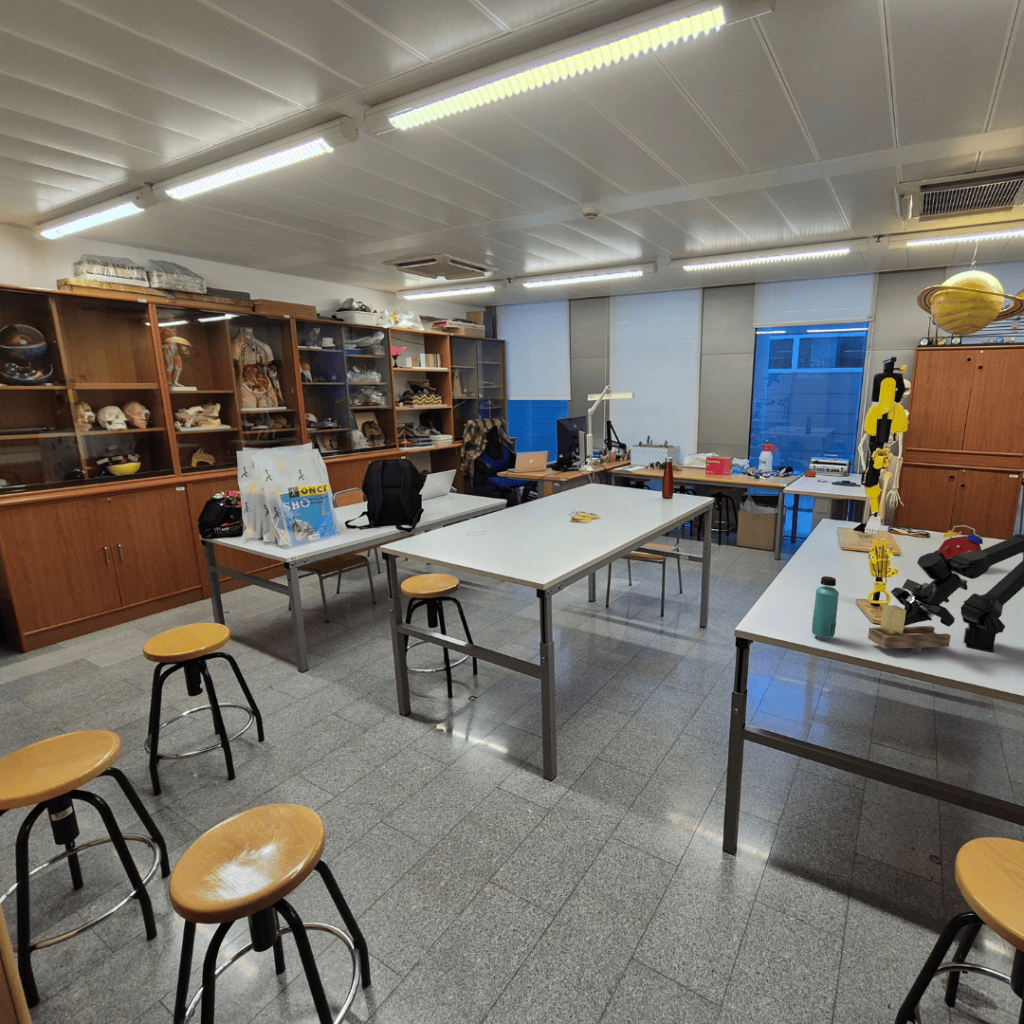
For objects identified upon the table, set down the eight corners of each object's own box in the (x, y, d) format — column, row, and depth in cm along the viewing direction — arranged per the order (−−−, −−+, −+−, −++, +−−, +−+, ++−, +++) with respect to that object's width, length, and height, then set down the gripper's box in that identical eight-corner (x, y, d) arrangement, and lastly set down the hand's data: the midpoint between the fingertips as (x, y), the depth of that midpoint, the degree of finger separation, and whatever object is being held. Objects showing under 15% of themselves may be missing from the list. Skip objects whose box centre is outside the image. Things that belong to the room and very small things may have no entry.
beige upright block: (888, 631, 169) (892, 603, 167) (905, 640, 162) (909, 612, 160) (876, 632, 168) (880, 604, 167) (892, 641, 162) (896, 612, 160)
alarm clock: (981, 572, 240) (988, 527, 236) (973, 575, 235) (981, 530, 231) (940, 564, 252) (946, 521, 248) (932, 567, 247) (939, 523, 243)
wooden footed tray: (929, 642, 170) (931, 625, 169) (947, 652, 164) (950, 635, 162) (866, 644, 169) (869, 627, 168) (883, 654, 162) (885, 637, 161)
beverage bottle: (831, 644, 169) (838, 582, 165) (807, 638, 174) (814, 577, 170) (836, 637, 174) (843, 577, 170) (813, 632, 178) (819, 572, 174)
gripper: (900, 562, 171) (862, 596, 172) (951, 581, 153) (907, 620, 154) (921, 585, 173) (882, 619, 174) (973, 607, 155) (930, 645, 156)
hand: (899, 625), depth 165 cm, fingers closed, pressing on beige upright block
